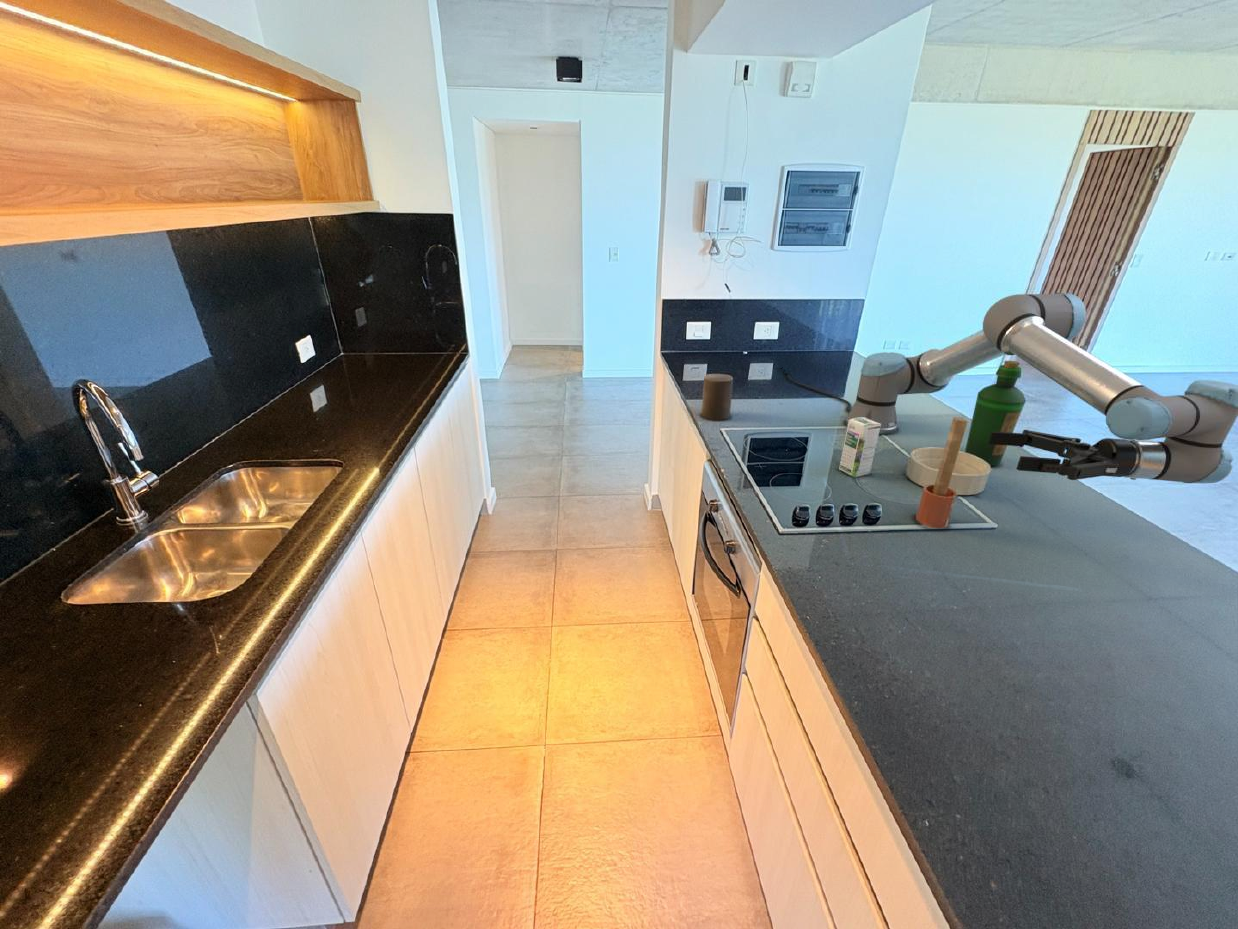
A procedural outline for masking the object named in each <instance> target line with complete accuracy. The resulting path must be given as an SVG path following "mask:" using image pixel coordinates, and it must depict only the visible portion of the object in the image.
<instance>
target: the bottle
mask: <svg viewBox="0 0 1238 929" xmlns="http://www.w3.org/2000/svg"><path fill="white" fill-rule="evenodd" d="M1020 364H1021V363H1020V362H1019V361H1016V360H1004V364H1001V365H999V367H998V368H997V371H996V372H995V376H997V377H996V382H995V383H993V384H990V385H987V386H984V387H983V388H982V389H981V390H980V391H978V392H977V396H976V400H975V405H974V409H973V415H972V418H971V422H970V427H969V432H968V436H967V440H966V445H965V449H964V452H966V453H969V454H972V455H974V456H977V457H979V458H981V459H983V460H984V461H986V462H987V463H988V464H989V465H990V467H996V466H998V465H1000V464H1001V463H1002V460H1003V457H1004V455H1005V452H1006V450H1007V448H1008V446H1007V445H993V444H988V440H989V437H990V434H991V431H994V432H1009V433H1014V431H1015V428H1016V426H1017V423H1018V421H1019V419H1020V416H1021V413H1022V411H1023V408H1024V406H1025V404H1026V401H1027V400H1026V398H1025V395H1024V393H1023V392H1022V391H1021V389H1019V388H1018V387H1017V386H1016V384H1017V382H1018V379H1020V378H1022V367H1020Z"/></svg>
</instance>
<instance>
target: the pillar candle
mask: <svg viewBox="0 0 1238 929" xmlns="http://www.w3.org/2000/svg"><path fill="white" fill-rule="evenodd" d="M733 383H734V377H733V376H732V375H729V374H723V373H709V374H706V375H704V376H703V387H702V388H703V389H702V403H701V413H700V415H701V416H702V418H704V419H705V420H710V421H718V422H719V421H720V422H721V421H725V420H728V419H730V417H731V408H732V406H731V405H732V395H733V386H734V384H733Z"/></svg>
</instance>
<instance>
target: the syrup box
mask: <svg viewBox="0 0 1238 929" xmlns="http://www.w3.org/2000/svg"><path fill="white" fill-rule="evenodd" d="M880 427H881V424H880V423H877V422H874V421H872V420H869V419H867V418H865V417H859V418H853V419H850V420H849V422H848V426H847V427H846V432H845V437H844V443H843V446H842V447H843V448H842V452H841V456H840V457H841V458H840V462H839V465H838V466H839V467H838V470H839V471H842V472H844V473H845V474H847V475H849V476H851V477H852V478H859V477H863V476H867V475H870V474H871V470H872V465H873V460H874V457H875V453H876V447H877V443H878V440H879V435H880V434H879V431H880Z"/></svg>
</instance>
